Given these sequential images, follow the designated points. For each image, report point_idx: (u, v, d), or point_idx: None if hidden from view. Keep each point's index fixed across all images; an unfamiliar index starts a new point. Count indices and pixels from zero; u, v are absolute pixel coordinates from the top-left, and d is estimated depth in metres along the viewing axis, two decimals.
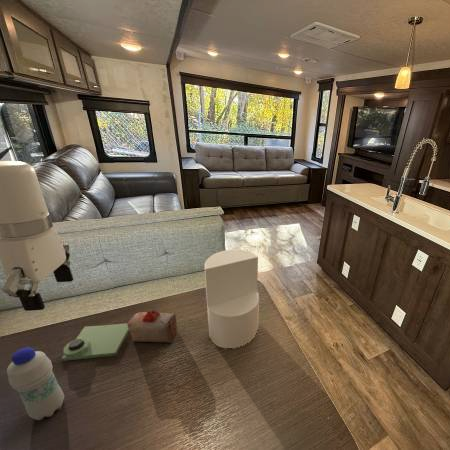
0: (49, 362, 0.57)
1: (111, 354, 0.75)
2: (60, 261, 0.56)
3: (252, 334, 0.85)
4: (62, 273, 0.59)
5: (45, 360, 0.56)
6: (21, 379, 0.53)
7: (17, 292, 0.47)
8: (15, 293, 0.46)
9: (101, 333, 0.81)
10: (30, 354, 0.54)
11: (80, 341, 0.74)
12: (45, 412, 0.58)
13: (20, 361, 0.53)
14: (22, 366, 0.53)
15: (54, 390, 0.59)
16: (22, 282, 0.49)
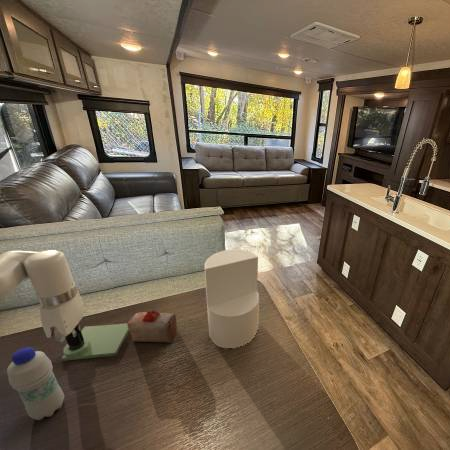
0: (49, 362, 0.57)
1: (111, 354, 0.75)
2: (82, 315, 0.73)
3: (252, 334, 0.85)
4: None
5: (45, 360, 0.56)
6: (21, 379, 0.53)
7: (66, 335, 0.69)
8: (65, 338, 0.69)
9: (101, 333, 0.81)
10: (30, 354, 0.54)
11: None
12: (45, 412, 0.58)
13: (20, 361, 0.53)
14: (22, 366, 0.53)
15: (54, 390, 0.59)
16: None
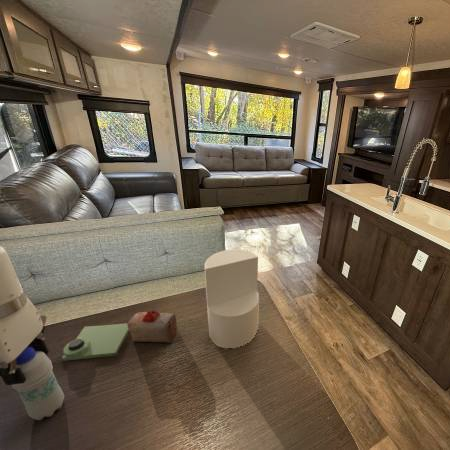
0: (49, 362, 0.58)
1: (111, 354, 0.75)
2: (36, 332, 0.55)
3: (252, 334, 0.85)
4: (36, 348, 0.57)
5: (45, 360, 0.56)
6: None
7: None
8: None
9: (101, 333, 0.81)
10: (30, 354, 0.54)
11: (80, 341, 0.74)
12: (45, 412, 0.58)
13: (20, 361, 0.53)
14: (22, 366, 0.53)
15: (54, 390, 0.59)
16: None
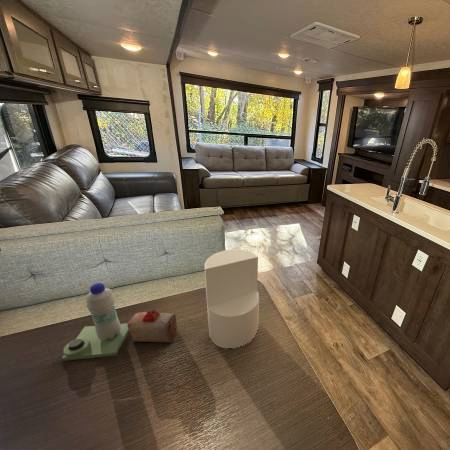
0: (113, 296, 0.77)
1: (111, 354, 0.75)
2: None
3: (252, 334, 0.85)
4: None
5: (111, 293, 0.76)
6: (96, 304, 0.72)
7: None
8: None
9: None
10: (102, 287, 0.74)
11: (80, 341, 0.74)
12: (109, 334, 0.78)
13: (96, 291, 0.72)
14: (97, 295, 0.73)
15: (115, 318, 0.79)
16: None
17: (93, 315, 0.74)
